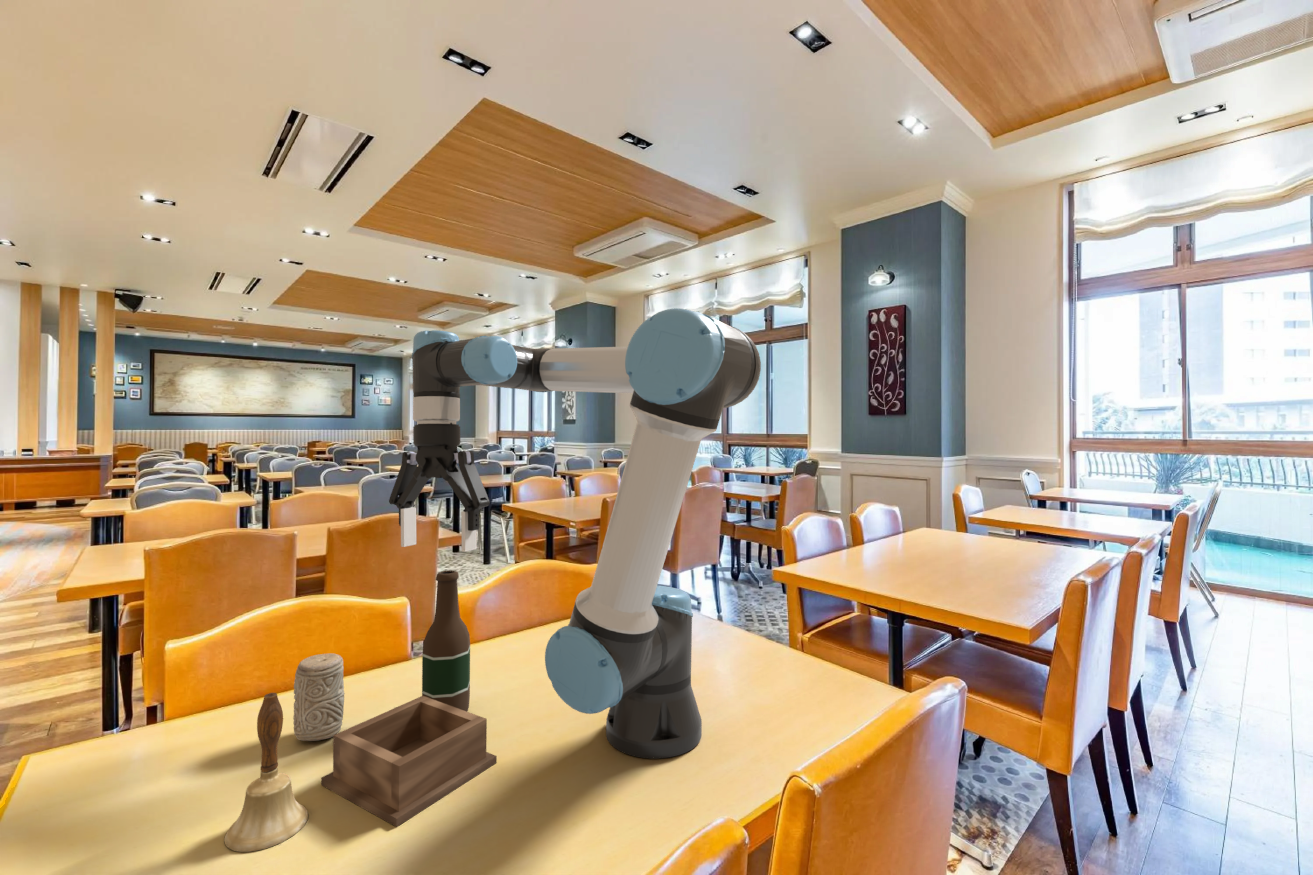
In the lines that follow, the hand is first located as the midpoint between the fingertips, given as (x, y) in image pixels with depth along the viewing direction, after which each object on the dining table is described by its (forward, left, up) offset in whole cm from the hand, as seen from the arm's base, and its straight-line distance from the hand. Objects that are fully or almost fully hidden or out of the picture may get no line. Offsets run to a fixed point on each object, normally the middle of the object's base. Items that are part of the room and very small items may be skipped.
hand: (438, 547), depth 98 cm
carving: (+9, +15, -28) cm, 33 cm away
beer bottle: (-2, 0, -28) cm, 28 cm away
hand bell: (-7, +30, -28) cm, 42 cm away
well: (-12, +14, -28) cm, 33 cm away
